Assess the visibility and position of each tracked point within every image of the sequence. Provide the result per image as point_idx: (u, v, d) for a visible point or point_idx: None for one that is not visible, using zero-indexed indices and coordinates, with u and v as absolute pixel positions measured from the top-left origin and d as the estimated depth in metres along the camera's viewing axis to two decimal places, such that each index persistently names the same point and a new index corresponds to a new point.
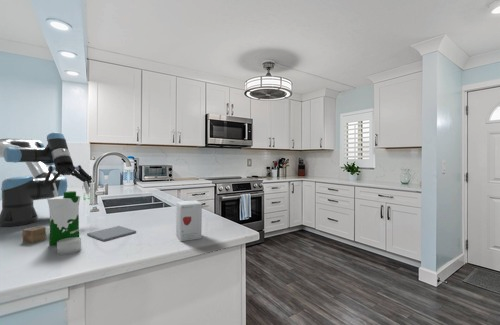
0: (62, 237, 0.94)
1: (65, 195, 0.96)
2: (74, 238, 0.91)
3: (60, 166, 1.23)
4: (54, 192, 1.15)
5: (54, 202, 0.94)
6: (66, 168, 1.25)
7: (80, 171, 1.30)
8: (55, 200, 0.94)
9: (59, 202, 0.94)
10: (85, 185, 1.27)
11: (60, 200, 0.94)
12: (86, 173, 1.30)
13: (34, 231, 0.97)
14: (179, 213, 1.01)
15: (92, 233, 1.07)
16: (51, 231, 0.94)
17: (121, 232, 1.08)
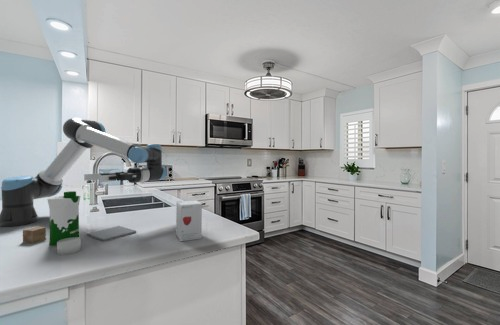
0: (62, 237, 0.94)
1: (65, 195, 0.96)
2: (74, 238, 0.91)
3: None
4: (105, 178, 1.04)
5: (54, 202, 0.94)
6: None
7: None
8: (55, 200, 0.94)
9: (59, 202, 0.94)
10: (95, 177, 1.14)
11: (60, 200, 0.94)
12: None
13: (34, 231, 0.97)
14: (179, 213, 1.01)
15: (92, 233, 1.07)
16: (51, 231, 0.94)
17: (121, 232, 1.08)
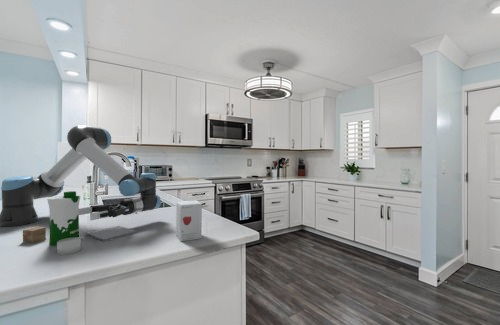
0: (62, 237, 0.94)
1: (65, 195, 0.96)
2: (74, 238, 0.91)
3: None
4: (97, 215, 1.01)
5: (54, 202, 0.94)
6: None
7: None
8: (55, 200, 0.94)
9: (59, 202, 0.94)
10: (86, 211, 1.10)
11: (60, 200, 0.94)
12: None
13: (34, 231, 0.97)
14: (179, 213, 1.01)
15: (92, 233, 1.07)
16: (51, 231, 0.94)
17: (121, 232, 1.08)
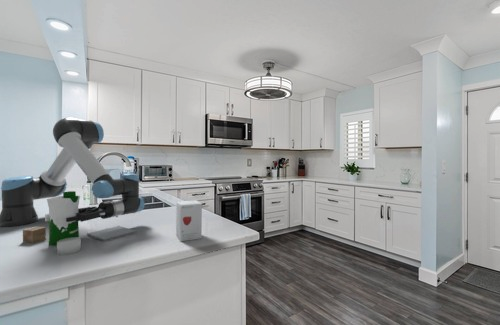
0: (62, 237, 0.94)
1: (64, 195, 0.96)
2: (74, 238, 0.91)
3: None
4: (62, 220, 0.93)
5: (53, 202, 0.94)
6: None
7: None
8: (54, 200, 0.94)
9: (58, 202, 0.94)
10: None
11: (59, 200, 0.94)
12: None
13: (34, 231, 0.97)
14: (179, 213, 1.01)
15: (92, 233, 1.07)
16: (51, 231, 0.94)
17: (121, 232, 1.08)
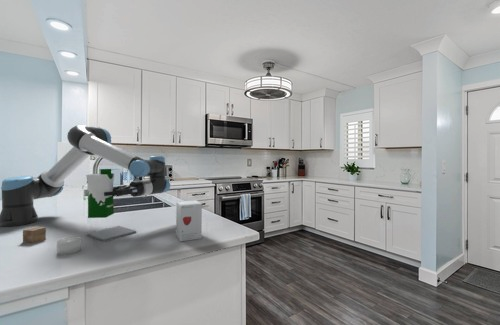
0: (100, 210, 1.02)
1: (102, 171, 1.03)
2: (74, 238, 0.91)
3: None
4: (101, 194, 1.00)
5: (92, 177, 1.01)
6: None
7: None
8: (93, 176, 1.01)
9: (97, 177, 1.01)
10: None
11: (98, 176, 1.01)
12: None
13: (34, 231, 0.97)
14: (179, 213, 1.01)
15: (92, 233, 1.07)
16: (90, 204, 1.02)
17: (121, 232, 1.08)
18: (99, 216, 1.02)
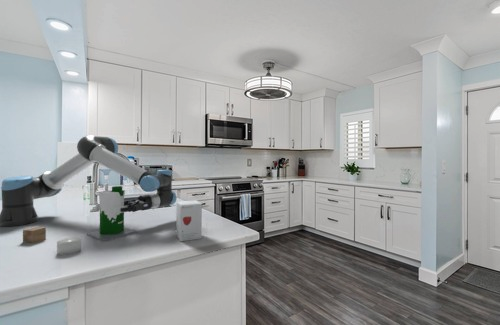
0: (111, 227, 1.05)
1: (113, 189, 1.07)
2: (74, 238, 0.91)
3: None
4: (117, 210, 1.04)
5: (104, 195, 1.05)
6: None
7: None
8: (105, 194, 1.05)
9: (109, 195, 1.05)
10: None
11: (110, 194, 1.05)
12: None
13: (34, 231, 0.97)
14: (179, 213, 1.01)
15: (92, 233, 1.07)
16: (102, 221, 1.05)
17: (121, 232, 1.08)
18: (111, 232, 1.06)
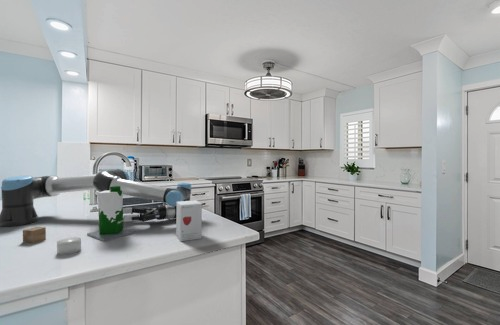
0: (111, 227, 1.05)
1: (112, 189, 1.07)
2: (74, 238, 0.91)
3: None
4: (129, 218, 1.14)
5: (103, 195, 1.05)
6: None
7: None
8: (104, 194, 1.05)
9: (108, 195, 1.05)
10: (127, 211, 1.26)
11: (108, 193, 1.05)
12: None
13: (34, 231, 0.97)
14: (179, 213, 1.01)
15: (92, 233, 1.07)
16: (101, 221, 1.05)
17: (121, 232, 1.08)
18: (110, 232, 1.06)
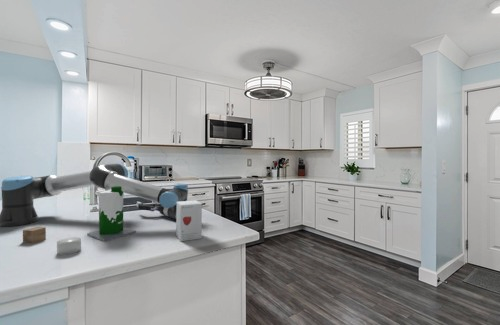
0: (111, 227, 1.05)
1: (113, 189, 1.07)
2: (74, 238, 0.91)
3: None
4: (138, 204, 1.45)
5: (104, 195, 1.05)
6: None
7: None
8: (105, 194, 1.05)
9: (109, 195, 1.05)
10: None
11: (110, 194, 1.05)
12: None
13: (34, 231, 0.97)
14: (179, 213, 1.01)
15: (92, 233, 1.07)
16: (101, 221, 1.05)
17: (121, 232, 1.08)
18: (110, 232, 1.06)
